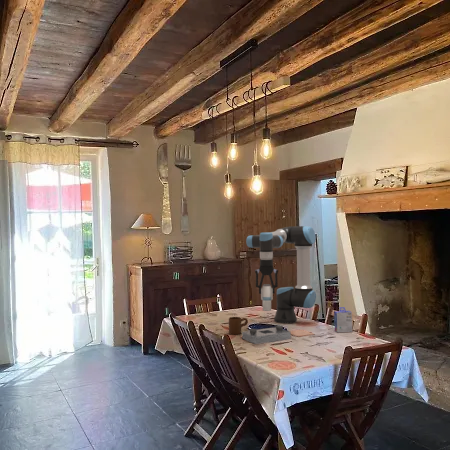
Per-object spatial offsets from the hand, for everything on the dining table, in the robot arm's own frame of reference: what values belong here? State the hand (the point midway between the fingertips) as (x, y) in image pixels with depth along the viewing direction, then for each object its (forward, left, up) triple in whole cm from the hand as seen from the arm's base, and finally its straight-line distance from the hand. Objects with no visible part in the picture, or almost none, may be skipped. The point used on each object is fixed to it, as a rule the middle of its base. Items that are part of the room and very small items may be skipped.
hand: (266, 299), depth 259 cm
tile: (0, +23, -23) cm, 33 cm away
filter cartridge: (0, 0, -6) cm, 6 cm away
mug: (-20, -8, -23) cm, 31 cm away
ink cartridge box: (+8, +50, -23) cm, 56 cm away
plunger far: (0, +8, -21) cm, 23 cm away
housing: (0, -1, -23) cm, 23 cm away
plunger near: (0, -10, -21) cm, 24 cm away
